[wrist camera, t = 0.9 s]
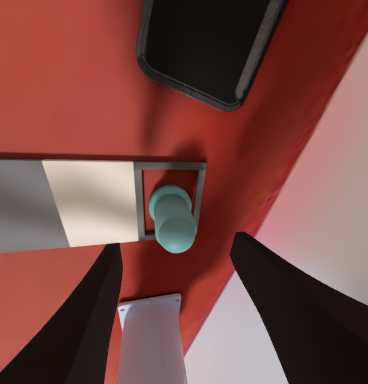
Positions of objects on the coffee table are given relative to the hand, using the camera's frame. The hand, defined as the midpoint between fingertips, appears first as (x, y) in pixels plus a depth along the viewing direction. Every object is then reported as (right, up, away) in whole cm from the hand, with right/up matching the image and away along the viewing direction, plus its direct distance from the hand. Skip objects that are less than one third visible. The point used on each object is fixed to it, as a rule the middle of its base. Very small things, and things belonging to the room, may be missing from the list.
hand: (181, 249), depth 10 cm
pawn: (-1, +3, +5) cm, 6 cm away
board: (-10, +2, +3) cm, 11 cm away
